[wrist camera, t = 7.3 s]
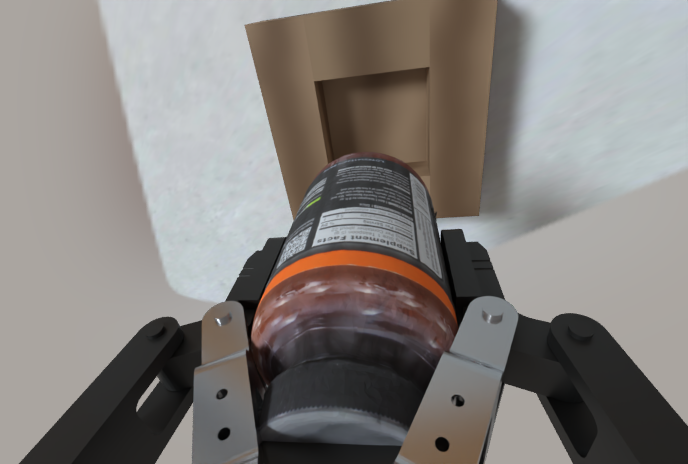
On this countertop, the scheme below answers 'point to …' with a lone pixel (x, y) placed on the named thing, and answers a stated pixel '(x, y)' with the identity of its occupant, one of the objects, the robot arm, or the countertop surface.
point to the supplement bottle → (354, 308)
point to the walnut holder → (381, 91)
